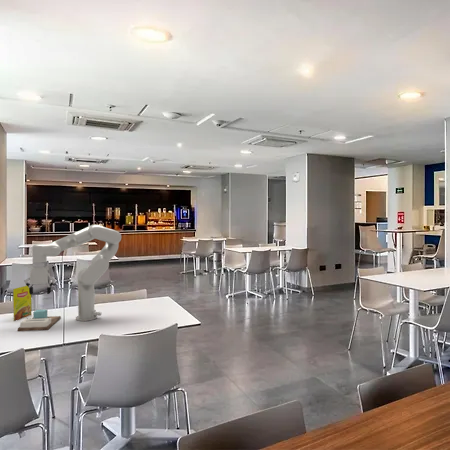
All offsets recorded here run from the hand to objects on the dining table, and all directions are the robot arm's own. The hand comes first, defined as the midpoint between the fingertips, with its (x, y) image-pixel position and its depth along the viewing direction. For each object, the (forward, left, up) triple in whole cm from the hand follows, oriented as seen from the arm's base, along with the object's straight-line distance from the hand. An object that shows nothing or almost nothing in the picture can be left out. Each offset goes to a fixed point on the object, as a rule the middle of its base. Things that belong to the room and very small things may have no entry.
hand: (40, 293), depth 221 cm
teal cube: (0, 0, -17) cm, 17 cm away
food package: (+16, -16, -18) cm, 29 cm away
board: (0, 0, -18) cm, 18 cm away
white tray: (0, +7, -17) cm, 18 cm away
